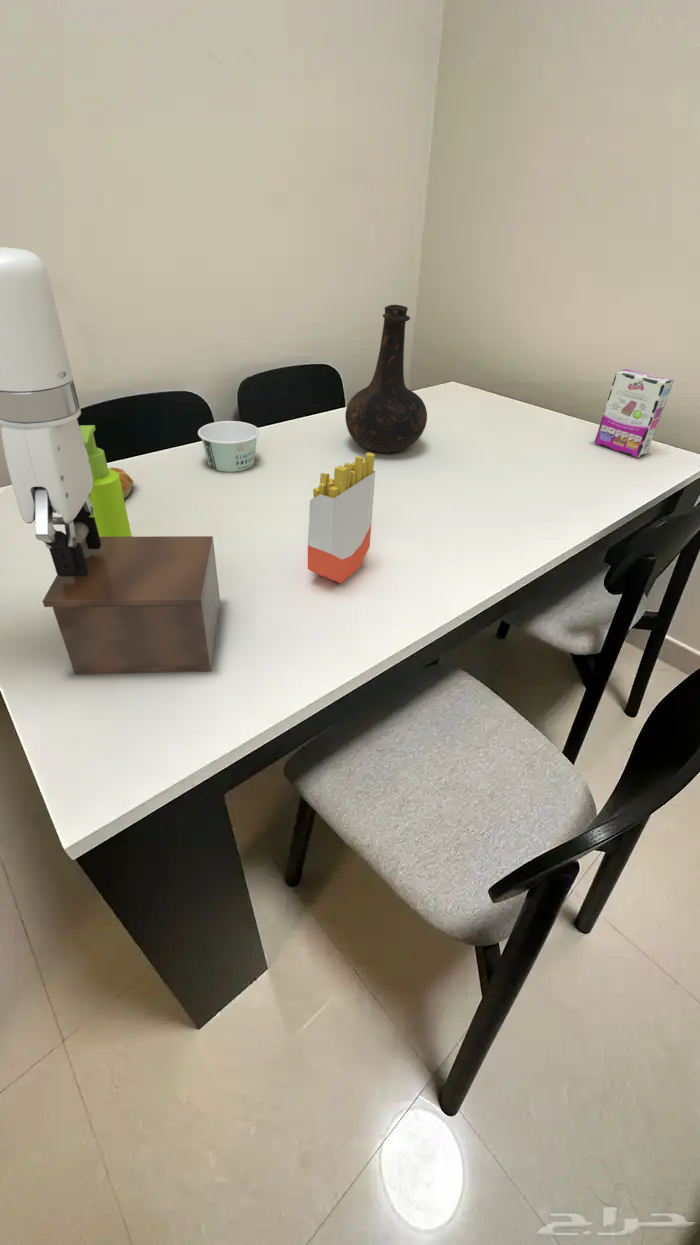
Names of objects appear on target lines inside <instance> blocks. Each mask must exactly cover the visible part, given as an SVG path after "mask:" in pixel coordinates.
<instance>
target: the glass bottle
mask: <svg viewBox="0 0 700 1245" xmlns="http://www.w3.org/2000/svg"><path fill="white" fill-rule="evenodd" d="M408 309H409V308H408V307H407V306H405V305H401V304H389V305H386V306H385V307H384V313H383V314H382V318H383V326H382V335H381V339H380V347H379V352H378V357H377V361H376V365H375V370H374V373H373V376H372V379H371V380H370V382H369V385H368V386H366V387H364V388H362V389H361V390H359V391H357V392H356V393H355V394H354V395H353V396H351V398H350V399H349V401H348V403H347V405H346V408H345V425H346V428H347V431H348V433H349V436H351V438H352V439H353V441H354V442H355V443H356V444H357V445H358V446H360V447H361V448H363V449H365V450H368V451H369V452H376V453H383V454H384V453H385V454H386V453H388V454H391V453H398V452H402V451H404V450H406V449H408V448H409V447H411V446H412V445H413V444H415V443H417V441H418V440H419V439H420V438H421V437H422V434H423V433H424V431H425V428H426V425H427V422H428V412H427V407H426V405H425V403H424V401H423V399H422V398H421V396H419V395H418V394H417V393H416V392H414V391H413V390H411V389H408V388H407V386H406V383H405V374H404V373H405V372H404V370H405V369H404V368H405V366H404V364H405V363H404V359H405V357H404V356H405V355H404V354H405V337H406V335H405V334H406V322H409V320H410V319H411V317H410V316H409V315H407V312H408Z"/></svg>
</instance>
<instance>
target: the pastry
mask: <svg viewBox="0 0 700 1245" xmlns="http://www.w3.org/2000/svg"><path fill="white" fill-rule="evenodd" d="M108 469H112V470H114V471H116V472H118V474H119V478H120V483H121V487H122V492H123V497H124V500H125V499H127V497H128V496H129V495H130V493H131V492H132V490H133V486H134V480H133V478H132V477H130V475H129V474H128V473H127V472H126V471H125V470H124V469H122V468H119V467H108Z"/></svg>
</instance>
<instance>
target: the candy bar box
mask: <svg viewBox="0 0 700 1245" xmlns="http://www.w3.org/2000/svg"><path fill="white" fill-rule="evenodd" d="M674 382H675V380H674V379H670V378H665V377H662V376H658V375H653V374H649V373H646V372H645V373H644V372H640V371H636V370H632V369H627V368H626V369H621V370H618V371H616V372H615V374H614V378H613V381H612V385H611V387H610V392H609V395H608V399H607V401H606V404H605V407H604V411H603V414H602V417H601V420H600V423H599V427H598V430H597V433H596V437H595V440H594V445H598V446H600V447H603V448H606V449H609V450H612V451H615V452H618V453H621V454H624V455H627V456H630V457H633V458H637V459H638V458H640V457H643V456H645V455H647V454H648V452H649V449H650V447H651V444H652V440H653V438H654V436H655V433H656V430H657V427H658V425H659V423H660V420H661V416H662V414H663V411H664V409H665V406H666V403H667V400H668V398H669V395H670V392H671V389H672V386H673V384H674Z"/></svg>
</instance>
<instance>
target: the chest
mask: <svg viewBox="0 0 700 1245" xmlns="http://www.w3.org/2000/svg"><path fill="white" fill-rule="evenodd" d="M215 553H216V552H215V545H214V542H213V546H212V551H211V557H210V562H209V567H208V573H207V578H206V583H205V589H204V594H203V599H202V604H201V605H146V606H81V607H52V611H53V613H54V616H55V619H56V622H57V625H58V628H59V631H60V634H61V636H62V640H63V644H64V646H65V650H66V652H67V655H68V658H69V662H70V664H71V666H72V671H73V673H74V675H107V674H109V675H110V674H111V675H113V674H145V673H147V674H148V673H185V672H211V671H212V664H213V658H214V650H215V645H216V639H217V638H216V636H217V629H218V624H219V615H220V610H221V598H220V596H221V595H220V586H219V579H218V571H217V569H218V568H217V561H216V554H215Z"/></svg>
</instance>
